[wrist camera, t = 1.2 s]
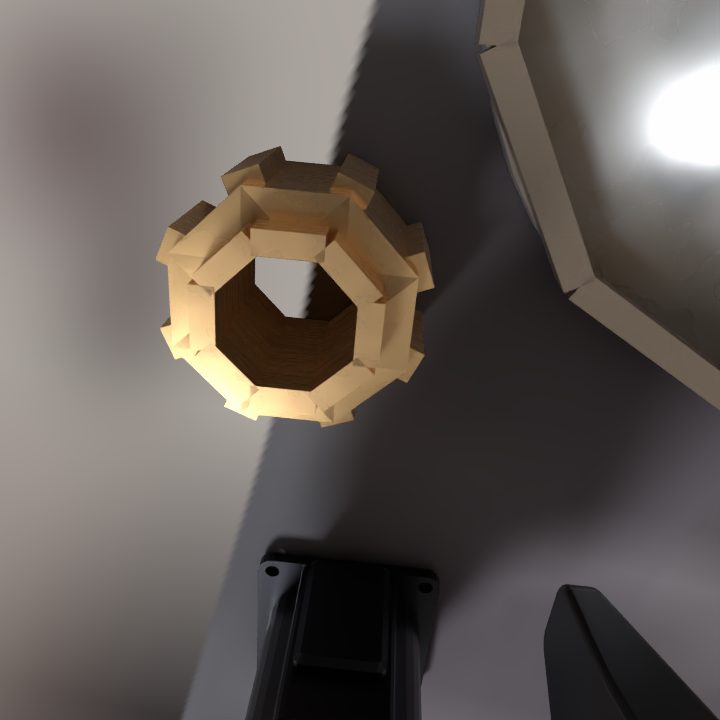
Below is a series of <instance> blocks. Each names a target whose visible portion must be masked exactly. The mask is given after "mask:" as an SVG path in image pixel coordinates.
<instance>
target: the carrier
mask: <svg viewBox="0 0 720 720" xmlns="http://www.w3.org/2000/svg"><path fill="white" fill-rule="evenodd" d="M474 44H479V45H481V48H482V51H480V52H478V53H476V57H477V60H478V63H479V66H480V69H481V71H482V74H483V77H484V80H485V83H486V85H487V88H488V95H489V101H490V108H491V113H492V116H493V120H494V123H495V127H496V130H497V134H498V137H499V141H500V145H501V148H502V152H503V155H504V159H505V162H506V166H507V169H508V171H509V173H510V176H511V178H512V180H513V182H514V185H515V187H516V189H517V191H518V194H519V196H520V198H521V201H522V203H523V205H524V207H525V210H526V212H527V214H528V216H529V219H530V220H531V222H532V223H533V225H534V227H535V228H536V230H537V231H538V233H539V235H540V237H541V240H542V243H543V246H544V249H545V252H546V254H547V257H548V260H549V263H550V266H551V268H552V271H553V274H554V277H555V280H556V281H557V283H558V284H559V286H560V288H561V289H562V291H563V292H564V293H565V294H566V296H567V297H568V299H569V300H570V301H572V302H573V303H575V304H576V305H577V306H579V307H580V308H581V309H583V310H584V311H585V312H587V313H588V314H589V315H591V316H592V317H594V318H595V319H596V320H598V321H599V322H600V323H602V324H603V325H604V326H606V327H607V328H609V329H610V330H611V331H613V332H614V333H615V334H617V335H618V336H619V337H621V338H622V339H623V340H625V341H626V342H628V343H629V344H630V345H632V346H633V347H634V348H636V349H637V350H638V351H640V352H641V353H642V354H644V355H645V356H647V357H648V358H649V359H651V360H652V361H653V362H655V363H656V364H657V365H659V366H660V367H661V368H663V369H664V370H666V371H667V372H668V373H670V374H671V375H672V376H674V377H675V378H676V379H678V380H679V381H681V382H682V383H683V384H685V385H686V386H687V387H689V388H690V389H691V390H693V391H694V392H695V393H697V394H698V395H700V396H701V397H702V398H704V399H705V400H706V401H708V402H709V403H710V404H712V405H713V406H714V407H716V408H717V409H719V410H720V0H480V9H479V16H478V23H477V30H476V36H475V43H474Z"/></svg>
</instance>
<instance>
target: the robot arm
mask: <svg viewBox="0 0 720 720" xmlns="http://www.w3.org/2000/svg"><path fill="white" fill-rule="evenodd" d="M270 566H274V567H277V568H271V567H270ZM422 583H429V584H428V585H423V584H422ZM439 590H440V589H439V577H438V575H437V574H436V573H435V572H433V571H432V570H428V569H419V568H410V567H401V566H392V565H383V564H373V563H364V562H355V561H346V560H337V559H327V558H318V557H309V556H300V555H290V554H281V553H268V554H266V555H264V556H263V557H262V559H261V563H260V566H259V570H258V637H257V671H256V676H255V680H254V684H253V688H252V693H251V697H250V701H249V705H248V709H247V714H246V718H245V720H421V684H422V679H423V674H424V668H425V663H426V658H427V653H428V647H429V642H430V637H431V632H432V626H433V621H434V616H435V611H436V606H437V600H438V595H439ZM544 657H545V667H546V676H547V685H548V694H549V703H550V712H551V720H719V719H718V718H717V717H716V716H715V715H714V714H713V712H712V711H711V710H710V709H709V708H708V707H707V706H706V705H705V704H704V703H703V702H702V701H701V700H700V698H699V697H698V696H697V695H696V694H695V693H694V692H693V691H692V690H691V689H690V688H689V687H688V686H687V684H686V683H685V682H684V681H683V680H682V679H681V678H680V677H679V676H678V675H677V674H676V673H675V672H674V670H673V669H672V668H671V667H670V666H669V665H668V664H667V663H666V662H665V661H664V660H663V659H662V658H661V657H660V655H659V654H658V653H657V652H656V651H655V650H654V649H653V648H652V647H651V646H650V645H649V644H648V643H647V641H646V640H645V639H644V638H643V637H642V636H641V635H640V634H639V633H638V632H637V631H636V630H635V629H634V627H633V626H632V625H631V624H630V623H629V622H628V621H627V620H626V619H625V618H624V617H623V616H622V615H621V613H620V612H619V611H618V610H617V609H616V608H615V607H614V606H613V605H612V604H611V603H610V602H609V601H608V599H607V598H606V597H605V596H604V595H603V594H602V593H601V592H600V591H598V590H597V589H595V588H593V587H587V586H578V585H569V584H566V585H562V586H561V587H560V588H559V590H558V592H557V594H556V597H555V601H554V604H553V607H552V610H551V613H550V617H549V620H548V623H547V626H546V630H545V634H544Z"/></svg>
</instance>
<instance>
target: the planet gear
mask: <svg viewBox="0 0 720 720" xmlns="http://www.w3.org/2000/svg"><path fill="white" fill-rule="evenodd" d="M378 174H379V169H378V168H376V167H374V166H372V165H371V164H369V163H367V162H365V161H363V160H361V159H360V158H358V157H356V156H354V155H352V154H350V153H348V155H347V157H346V159H345V161H344V163H343V165H342V166H336V165H326V164H315V163H304V162H294V161H286V160H285V157H284V154H283V151H282V149H281V146H279V147H276V148H273V149H270V150H267V151H264V152H262V153H259V154H255V155H253V156H249V157H248V158H246V159H245V160H243V161H242V162H241V163H239V164H238V165H236V166H235V167H234V168H232V169H231V170H229V171H228V172H227V173H225V174H224V175H223V176H221V178H222V180H223V183H224V186H225V188H226V191H227V193H228V195H229V196H228V197H227V198H226V199H225V200H224V201H223V202H222V203H220V204H219V205H218V206H217V207H215V206H213V205H211V204H209V203H207V202H205V201H203V200H202V201H201V202H200V203H198V204H197V205H196V206H194V207H193V208H192V209H191V210H189V211H188V212H187V213H185V214H184V215H183V216H181V217H180V218H179V219H178V220H176V221H175V222H174V223H172V224H171V225H170V226H168V228H167V231H166V234H165V236H164V239H163V241H162V244H161V247H160V249H159V252H158V255H157V257H156V260H157V261H159V262H161V263H163V264H165V265H167V266H168V278H169V294H170V295H169V296H170V313H171V316H170V317H169V318H168V319H167V321H166V322H165V323H164V324H163V325H162V326H161V327H160V329H161V331H162V333H163V335H164V337H165V339H166V342H167V344H168V345H169V347H170V350H171V352H172V354H173V356H174V358H175V359H177V358H181V357H183V358H184V359H185V360H186V361H187V362H188V363H189V364H190V365H192V367H193V368H195V369H196V370H197V371H198V372H199V373H200V374H201V375H202V376H203V377H204V378H205V379H206V380H207V381H208V382H209V383H210V384H211V385H212V386H213V387H214V388H215V389H216V390H217V391H218V392H220V393H221V394H222V395H223V396H224V397H225V398H226V399H227V402H226V404H225V407H227V408H229V409H231V410H233V411H236V412H238V413H240V414H242V415H244V416H246V417H249V418H251V419H253V420H256V419H257V417H258V415H264V416H274V417H284V418H293V419H303V420H312V421H319V422H320V424H321V427H326V426H331V425H335V424H339V423H343V422H347V421H351V420H354V416H355V408H356V406H358V405H359V404H361V403H362V402H363V401H365V400H366V399H368V398H369V397H371V396H372V395H373V394H375V393H376V392H378V391H379V390H381V389H382V388H383V387H385V386H386V385H388V384H389V383H391V382H392V381H393V380H395V379H396V378H398V379H400V380H402V381H404V382H406V383H407V382H408V381H409V379H410V378H411V376H412V374H413V373H414V371H415V370H416V368H417V367H418V365H419V363H420V362H421V360H422V359H423V357H424V356H425V351H424V336H423V321H422V312H420V311H418V310H416V309H415V304H416V296H417V292H421V291H424V290H428V289H432V288H434V280H433V272H432V264H431V256H430V251H429V247H428V243H427V240H426V236H425V233H424V229H423V226H422V222H419V223H415V224H412V225H408V226H407V225H406V223H405V222H404V221H403V220H402V218H401V217H400V216H399V215H398V214H397V212H396V211H395V210H394V209H393V207H392V206H391V205H390V204H389V202H388V201H387V200H386V199H385V198H384V196H383V195H382V194H381V193H380V191H379V190H378V189H377V188H376V184H377V179H378ZM256 256H259V257H269V258H279V259H289V260H300V261H309V262H318V263H319V264H320V265H321V266H322V267H323V269H324V270H325V271H326V272H327V273H328V274H329V275H330V276H331V278H332V279H333V280H334V281H335V282H336V283H337V284H338V285H339V287H340V288H341V289H342V290H343V291H344V292H345V293H346V294H347V296H348V297H349V298H350V299H351V300H352V301H353V302H354V303H353V304H352V305H350V306H349V307H348V308H346V309H345V310H344V311H342V312H341V313H340V314H339V315H337V316H336V317H335V318H333V319H332V320H331V321H322V320H313V319H303V318H293V317H285V316H284V314H283V313H281V311H280V310H279V309H278V308H277V307H276V306H275V305H274V304H273V303H272V302H271V301H270V300H269V299H268V297H267V296H266V295H265V294H264V293H263V292H262V291H261V290H260V289H259V288H258V287H257V286H256V285H255V257H256Z"/></svg>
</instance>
